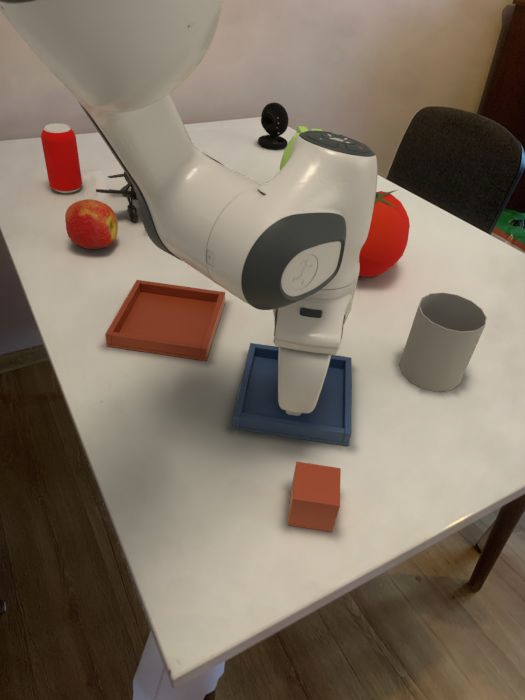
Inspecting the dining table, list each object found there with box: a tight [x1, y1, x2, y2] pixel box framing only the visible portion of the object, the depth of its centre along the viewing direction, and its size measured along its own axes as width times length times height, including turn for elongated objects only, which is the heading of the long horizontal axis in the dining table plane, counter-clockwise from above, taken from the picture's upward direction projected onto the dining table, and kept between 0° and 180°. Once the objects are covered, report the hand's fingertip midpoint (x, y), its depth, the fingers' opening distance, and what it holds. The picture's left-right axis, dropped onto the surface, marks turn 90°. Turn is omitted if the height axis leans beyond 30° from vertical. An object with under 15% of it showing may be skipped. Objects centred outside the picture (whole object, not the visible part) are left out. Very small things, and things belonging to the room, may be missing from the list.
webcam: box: [257, 102, 289, 150], centre depth 133 cm, size 8×8×10 cm
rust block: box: [287, 461, 342, 533], centre depth 54 cm, size 4×4×4 cm
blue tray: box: [232, 342, 353, 447], centre depth 67 cm, size 14×14×2 cm
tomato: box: [358, 189, 411, 278], centre depth 88 cm, size 16×14×14 cm
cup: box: [399, 292, 487, 393], centre depth 71 cm, size 8×8×10 cm
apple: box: [64, 198, 119, 250], centre depth 89 cm, size 8×8×8 cm
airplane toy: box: [95, 170, 139, 223], centre depth 99 cm, size 20×19×15 cm
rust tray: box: [104, 279, 226, 362], centre depth 76 cm, size 14×14×2 cm
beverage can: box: [40, 122, 83, 194], centre depth 104 cm, size 6×6×12 cm
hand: (296, 383), depth 66 cm, fingers open, 8 cm apart
